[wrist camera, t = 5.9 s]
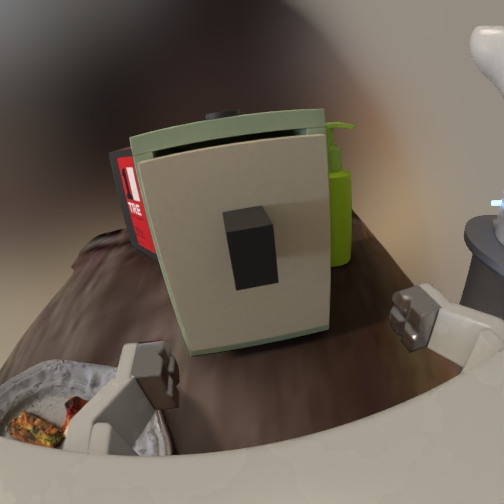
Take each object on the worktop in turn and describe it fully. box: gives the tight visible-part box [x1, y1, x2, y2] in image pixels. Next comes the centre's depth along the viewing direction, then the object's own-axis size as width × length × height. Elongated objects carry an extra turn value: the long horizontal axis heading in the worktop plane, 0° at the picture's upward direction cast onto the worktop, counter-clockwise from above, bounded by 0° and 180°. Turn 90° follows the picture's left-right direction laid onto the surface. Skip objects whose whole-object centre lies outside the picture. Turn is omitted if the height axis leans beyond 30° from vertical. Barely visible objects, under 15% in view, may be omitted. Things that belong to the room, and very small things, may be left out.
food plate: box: [0, 359, 175, 456], centre depth 16 cm, size 25×23×4 cm
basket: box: [138, 134, 330, 351], centre depth 28 cm, size 17×14×18 cm
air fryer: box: [130, 109, 331, 356], centre depth 31 cm, size 14×15×23 cm
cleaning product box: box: [109, 146, 159, 262], centre depth 51 cm, size 16×9×20 cm, turn 45°
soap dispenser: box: [325, 122, 356, 267], centre depth 39 cm, size 6×7×20 cm
